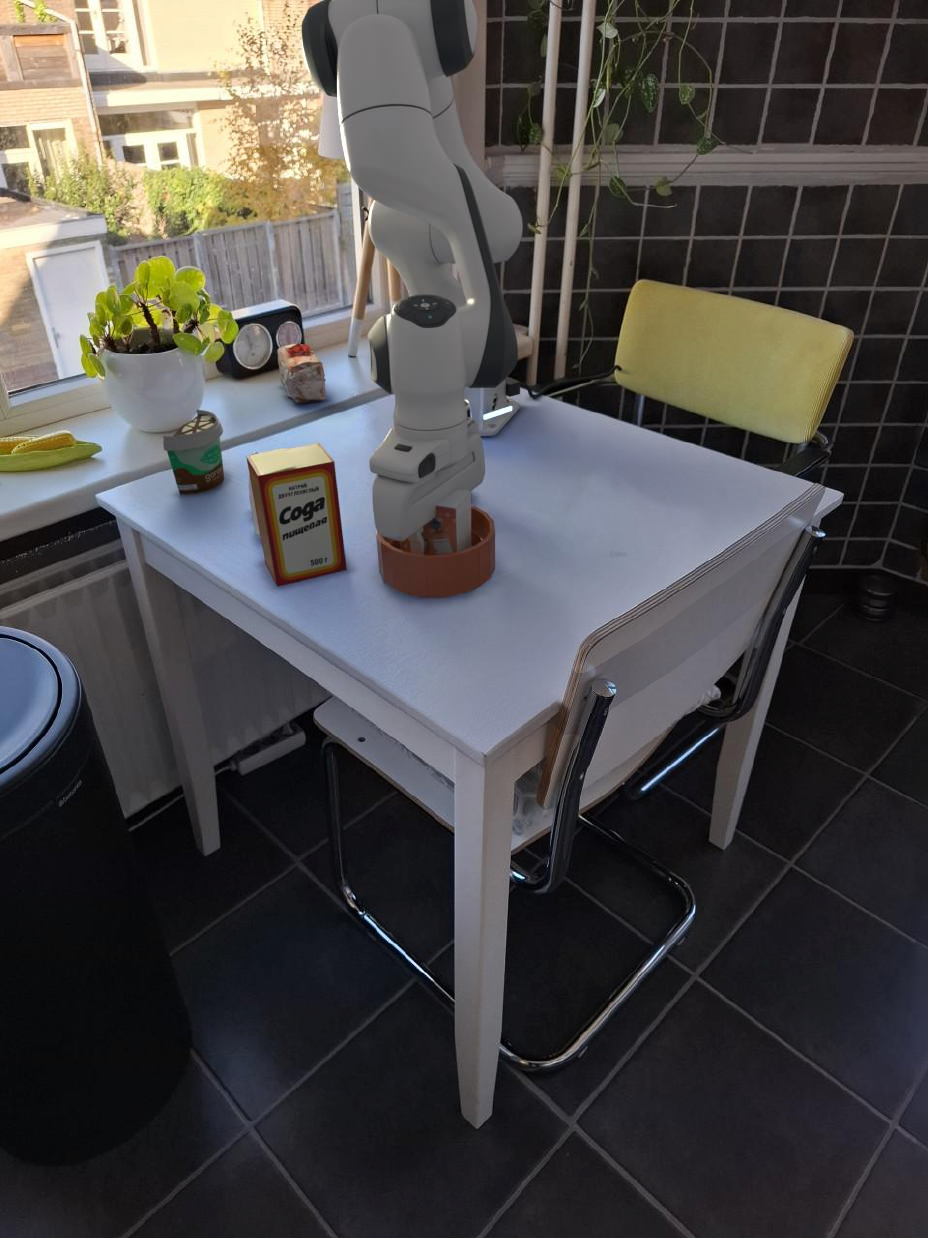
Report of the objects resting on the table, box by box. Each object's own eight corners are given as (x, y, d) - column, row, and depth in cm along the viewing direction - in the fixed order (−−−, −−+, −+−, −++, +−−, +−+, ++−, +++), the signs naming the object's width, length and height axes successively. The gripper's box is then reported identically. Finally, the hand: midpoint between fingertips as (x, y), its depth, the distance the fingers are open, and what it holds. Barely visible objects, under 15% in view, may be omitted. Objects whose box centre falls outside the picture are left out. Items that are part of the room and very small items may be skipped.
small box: (401, 571, 114) (395, 499, 108) (417, 551, 118) (413, 480, 112) (458, 581, 112) (456, 508, 106) (472, 560, 116) (471, 488, 110)
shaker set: (287, 545, 122) (275, 472, 116) (257, 549, 121) (243, 476, 115) (280, 508, 132) (270, 439, 125) (252, 511, 131) (240, 442, 125)
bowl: (403, 537, 123) (400, 495, 120) (507, 550, 119) (507, 507, 116) (362, 592, 111) (358, 548, 108) (476, 609, 107) (475, 563, 104)
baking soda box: (332, 548, 121) (319, 440, 112) (346, 570, 116) (333, 458, 107) (265, 564, 118) (245, 453, 109) (277, 586, 113) (257, 473, 104)
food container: (211, 501, 134) (199, 439, 129) (175, 498, 135) (161, 437, 130) (244, 468, 144) (233, 410, 139) (209, 465, 145) (198, 408, 140)
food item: (332, 401, 169) (326, 351, 164) (292, 408, 167) (285, 357, 161) (313, 381, 180) (307, 333, 174) (275, 387, 177) (267, 338, 172)
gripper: (455, 407, 114) (457, 503, 121) (359, 464, 99) (369, 568, 107) (496, 416, 111) (496, 513, 119) (405, 476, 97) (411, 582, 104)
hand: (435, 540), depth 113 cm, fingers closed on small box, 6 cm apart
